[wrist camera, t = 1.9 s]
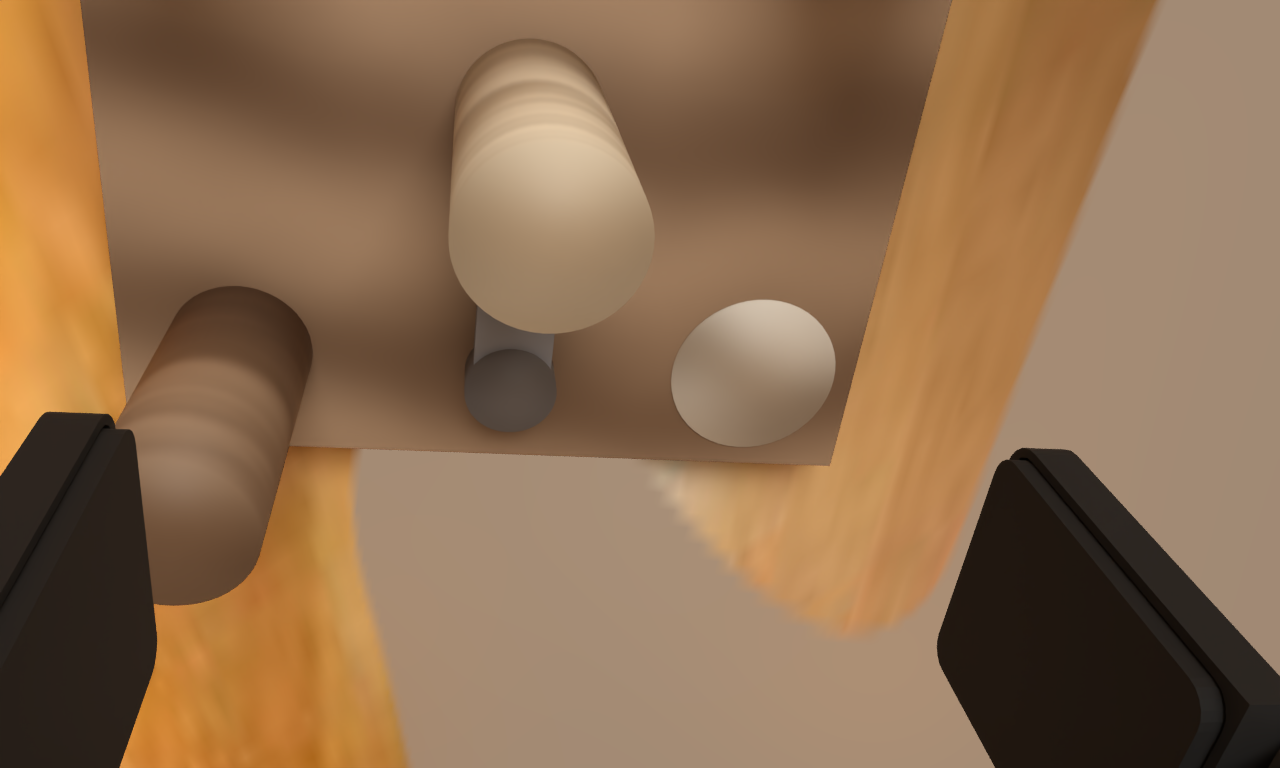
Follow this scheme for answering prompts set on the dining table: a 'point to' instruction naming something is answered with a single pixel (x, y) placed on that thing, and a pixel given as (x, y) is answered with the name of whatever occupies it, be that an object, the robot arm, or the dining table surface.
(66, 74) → the dining table surface
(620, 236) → the hinged leg
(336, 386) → the stool
